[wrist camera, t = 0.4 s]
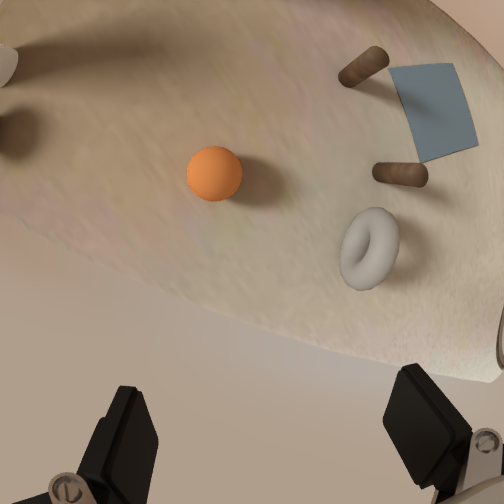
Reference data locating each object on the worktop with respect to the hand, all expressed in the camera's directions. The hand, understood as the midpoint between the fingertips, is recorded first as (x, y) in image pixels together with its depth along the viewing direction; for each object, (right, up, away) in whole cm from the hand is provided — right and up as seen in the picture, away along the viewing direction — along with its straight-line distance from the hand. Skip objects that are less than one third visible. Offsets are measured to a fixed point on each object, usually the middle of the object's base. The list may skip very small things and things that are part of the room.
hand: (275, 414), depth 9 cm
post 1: (+11, +28, +22) cm, 37 cm away
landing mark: (+27, +27, +23) cm, 44 cm away
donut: (+12, +7, +28) cm, 31 cm away
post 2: (+16, +16, +26) cm, 34 cm away
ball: (-5, +14, +22) cm, 26 cm away
